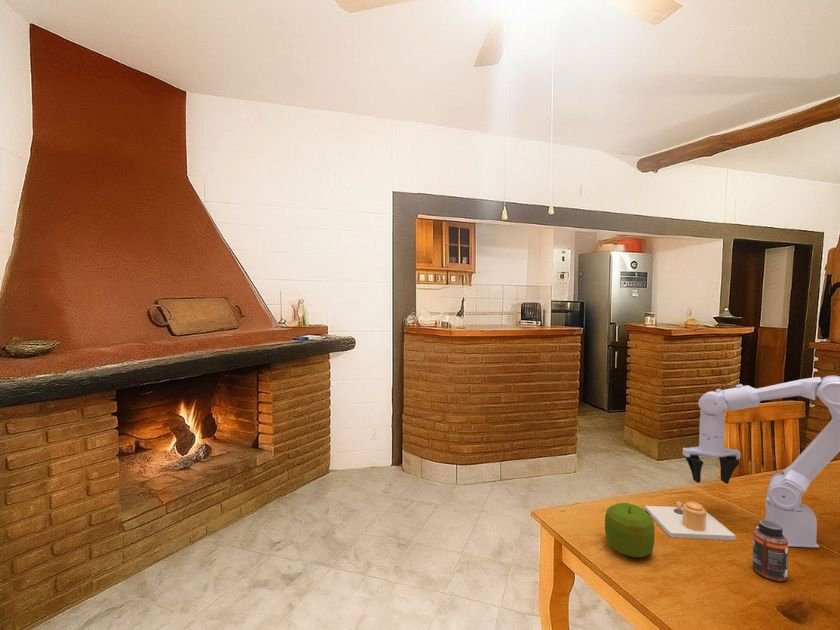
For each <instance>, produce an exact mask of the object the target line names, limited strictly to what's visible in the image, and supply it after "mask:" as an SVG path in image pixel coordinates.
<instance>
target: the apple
mask: <svg viewBox="0 0 840 630" xmlns="http://www.w3.org/2000/svg"><path fill="white" fill-rule="evenodd" d="M654 522H655V520H654V519H653V518H652V517H651V516H650V515H649V514H648V513H647V512H646V511H645V509H644V508H642V507H640V506H638V505H636V504H633V503H629V502H619V503H615V504H613V505H611V506H609V507H608V508H607V509H606V513H605V516H604V530H605V532H604V533H605V538H606V539H605V540H606V542H607V544H608V545H609V546H610V547H611V548H612V549H614V550H615V551H617V552H619V553H621V554H622V555H624V556H627V557H629V558H634V559H638V558H643V557H645V556H649V555H650V554H651V553H653V549H654V544H655V523H654Z"/></svg>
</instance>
